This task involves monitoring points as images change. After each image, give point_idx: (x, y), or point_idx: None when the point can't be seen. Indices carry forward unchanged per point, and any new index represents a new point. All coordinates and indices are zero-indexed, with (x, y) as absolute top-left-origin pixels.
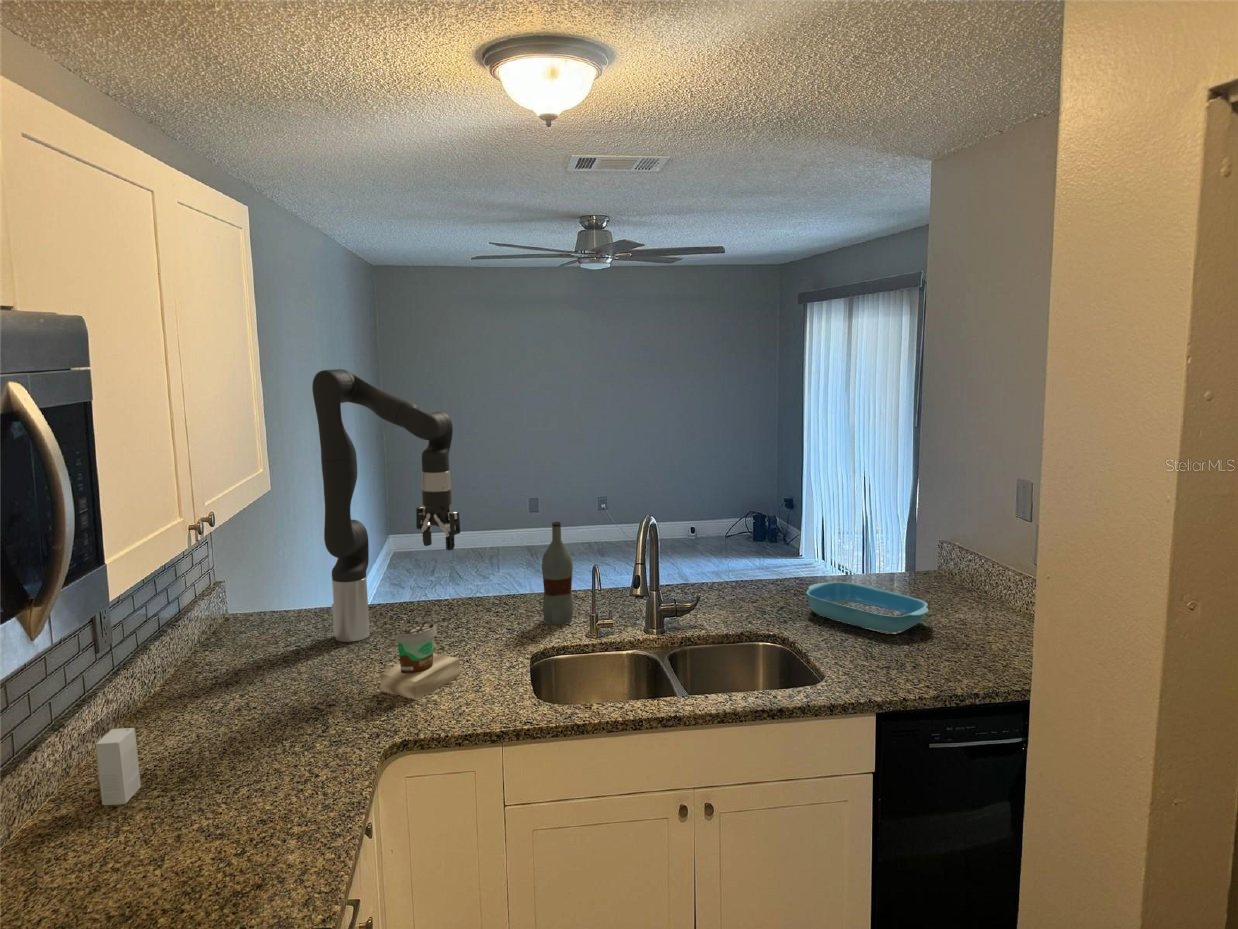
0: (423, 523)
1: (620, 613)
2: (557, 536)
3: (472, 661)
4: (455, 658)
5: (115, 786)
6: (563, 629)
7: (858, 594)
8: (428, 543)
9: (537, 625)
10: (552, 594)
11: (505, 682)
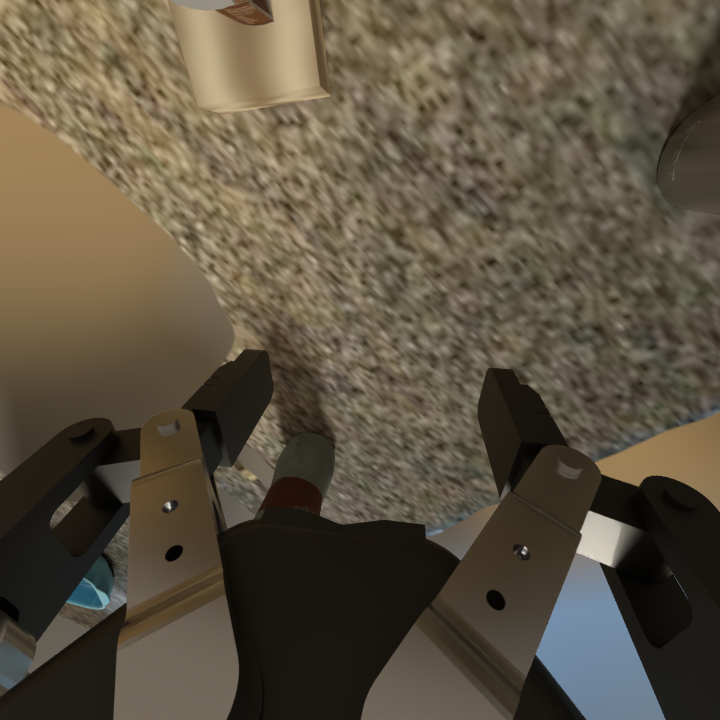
0: (565, 536)
1: (262, 501)
2: None
3: (277, 211)
4: (206, 100)
5: None
6: (275, 425)
7: (87, 592)
8: (486, 398)
9: (325, 423)
10: (284, 479)
11: (124, 154)
